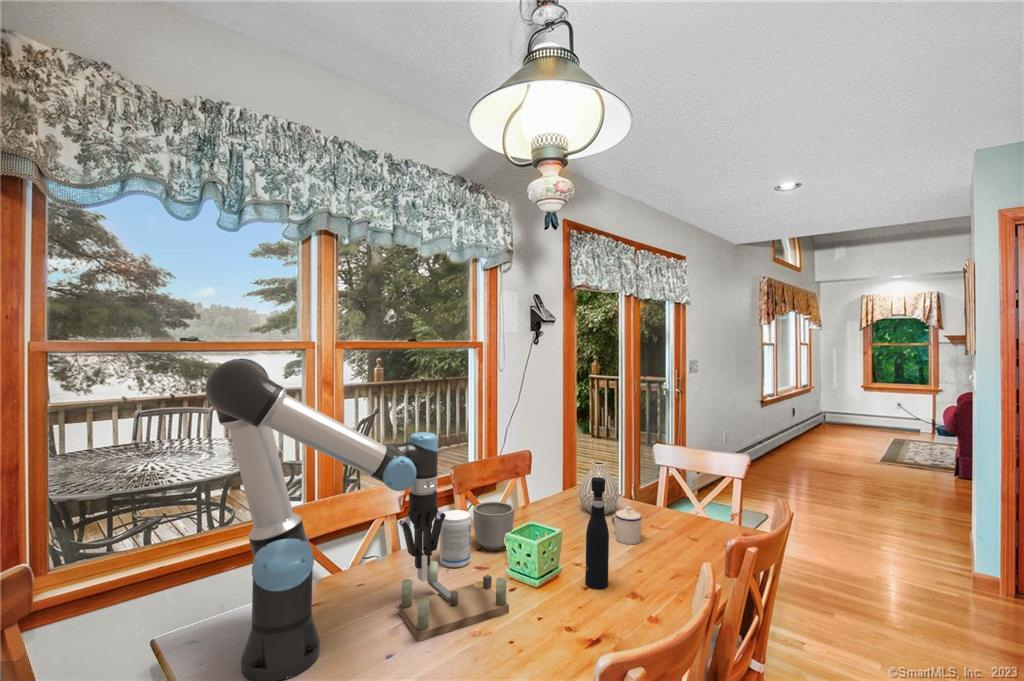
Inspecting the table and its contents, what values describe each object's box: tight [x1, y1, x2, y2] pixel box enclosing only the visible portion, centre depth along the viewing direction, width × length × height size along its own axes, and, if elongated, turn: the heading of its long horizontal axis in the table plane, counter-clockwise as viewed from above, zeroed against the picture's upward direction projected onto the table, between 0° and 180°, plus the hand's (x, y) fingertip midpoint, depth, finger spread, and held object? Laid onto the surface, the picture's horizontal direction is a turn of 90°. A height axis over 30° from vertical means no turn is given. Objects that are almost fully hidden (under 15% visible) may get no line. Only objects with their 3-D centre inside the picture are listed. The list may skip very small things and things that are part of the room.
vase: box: [578, 460, 619, 516], centre depth 200 cm, size 16×16×20 cm
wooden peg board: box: [398, 574, 510, 642], centre depth 123 cm, size 24×14×8 cm, turn 122°
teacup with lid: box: [610, 505, 643, 545], centre depth 172 cm, size 12×9×12 cm
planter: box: [472, 501, 515, 552], centre depth 164 cm, size 14×14×13 cm
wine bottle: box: [584, 477, 610, 591], centre depth 139 cm, size 6×6×30 cm
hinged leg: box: [426, 560, 451, 602], centre depth 129 cm, size 12×3×6 cm, turn 37°
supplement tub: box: [439, 509, 472, 569], centre depth 152 cm, size 10×10×15 cm
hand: (422, 578), depth 131 cm, fingers closed
